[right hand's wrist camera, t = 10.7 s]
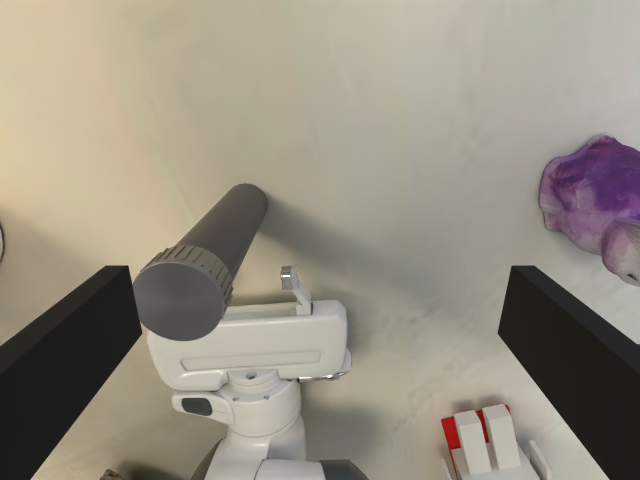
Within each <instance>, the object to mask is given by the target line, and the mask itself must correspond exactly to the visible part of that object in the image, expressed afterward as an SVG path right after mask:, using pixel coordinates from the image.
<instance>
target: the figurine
mask: <svg viewBox="0 0 640 480" xmlns="http://www.w3.org/2000/svg"><path fill="white" fill-rule="evenodd" d="M539 204H540V206H541V208H542V211H543V212H544V216H545V225H546V228H547V229H548V230H551V231H563V232H564V233H565V234H566V235H567V237H568V238H569V239H570V240H571V241H572V243H573V244H574V245H575V246H577V247H578V248H579V249H581V250H584V251H586V252H589V253H592V254H596V255H601V256H602V261H603V264H604V265H605V267H606V268H607V269H608V270H609V271H610V272H612V273H613V274H616V275H618V276H619V277H620V279H622V280H623V281H624V282H626V283H629V284H631V285H635V286H638V287H640V152H639V151H637V150H636V149H634V148H632V147H629V146H626V145H622V144H621V143H619V142H618V141H617V140H616V139H615V138H614V137H613V136H612V135H611V134H609V133H606V132H604V133H600V134H598V135H596V136H595V137H593V138H592V139H591V140H590V141H589V142H588V143H587V144H586V145H585V146H584V147H582V148H581V149H580V150H579V151H578V152H576V153H574V154H572V155H569V156H565V157H557V158H555V159H554V160H552V161H551V162H550V163H549V165H548V166H547V167H546V169H545V171H544V173H543V178H542V183H541V188H540V193H539Z"/></svg>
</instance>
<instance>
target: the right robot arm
mask: <svg viewBox="0 0 640 480" xmlns="http://www.w3.org/2000/svg"><path fill="white" fill-rule="evenodd" d="M141 335H142V329H141V324H140V320H139V315H138V310H137V305H136V300H135V296H134V291H133V286H132V281H131V277H130V272H129V267H128V266H105V267H103V268H102V269H101V270H99V271H98V272H97V273H96V274H94V275H93V276H92V277H90V278H89V279H88V280H86V281H85V282H84V283H83V284H81V285H80V286H79V287H77V288H76V289H75V290H73V291H72V292H71V293H69V294H68V295H67V296H66V297H64V298H63V299H62V300H60V301H59V302H58V303H56V304H55V305H54V306H52V307H51V308H50V309H49V310H47V311H46V312H45V313H43V314H42V315H41V316H39V317H38V318H37V319H35V320H34V321H33V322H32V323H30V324H29V325H28V326H26V327H25V328H24V329H22V330H21V331H20V332H18V333H17V334H16V335H15V336H13V337H12V338H11V339H9V340H8V341H7V342H5V343H4V344H3V345H1V346H0V480H30V479H31V478H32V477H33V475H34V474H35V473H36V472H37V470H38V469H39V468H40V466H41V465H42V464H43V462H44V461H45V460H46V459H47V457H48V456H49V455H50V453H51V452H52V451H53V449H54V448H55V447H56V445H57V444H58V443H59V442H60V440H61V439H62V438H63V436H64V435H65V434H66V432H67V431H68V430H69V429H70V427H71V426H72V425H73V423H74V422H75V421H76V419H77V418H78V417H79V415H80V414H81V413H82V412H83V410H84V409H85V408H86V406H87V405H88V404H89V402H90V401H91V400H92V398H93V397H94V396H95V395H96V393H97V392H98V391H99V389H100V388H101V387H102V385H103V384H104V383H105V382H106V380H107V379H108V378H109V376H110V375H111V374H112V372H113V371H114V370H115V368H116V367H117V366H118V365H119V363H120V362H121V361H122V359H123V358H124V357H125V355H126V354H127V353H128V352H129V350H130V349H131V348H132V346H133V345H134V344H135V342H136V341H137V340H138V338H139V337H140V336H141ZM498 335H499V336H500V337H501V338H502V340H503V341H504V342H505V344H506V345H507V346H508V348H509V349H510V350H511V352H512V353H513V354H514V355H515V357H516V358H517V359H518V361H519V362H520V363H521V365H522V366H523V367H524V368H525V370H526V371H527V372H528V374H529V375H530V376H531V378H532V379H533V380H534V382H535V383H536V384H537V385H538V387H539V388H540V389H541V391H542V392H543V393H544V395H545V396H546V397H547V399H548V400H549V401H550V402H551V404H552V405H553V406H554V408H555V409H556V410H557V412H558V413H559V414H560V415H561V417H562V418H563V419H564V421H565V422H566V423H567V425H568V426H569V427H570V429H571V430H572V431H573V432H574V434H575V435H576V436H577V438H578V439H579V440H580V442H581V443H582V444H583V445H584V447H585V448H586V449H587V451H588V452H589V453H590V455H591V456H592V457H593V459H594V460H595V461H596V462H597V464H598V465H599V466H600V468H601V469H602V470H603V472H604V473H605V474H606V475H607V477H608V478H609V479H610V480H640V344H636V343H635V342H633V341H632V340H631V339H629V338H628V337H627V336H625V335H624V334H623V333H622V332H620V331H619V330H618V329H616V328H615V327H614V326H612V325H611V324H610V323H608V322H607V321H606V320H605V319H603V318H602V317H601V316H599V315H598V314H597V313H595V312H594V311H593V310H591V309H590V308H589V307H588V306H586V305H585V304H584V303H582V302H581V301H580V300H578V299H577V298H576V297H574V296H573V295H572V294H571V293H569V292H568V291H567V290H565V289H564V288H563V287H561V286H560V285H559V284H557V283H556V282H555V281H554V280H552V279H551V278H550V277H548V276H547V275H546V274H544V273H543V272H542V271H541V270H539V269H538V268H537V267H535V266H512V267H511V272H510V277H509V281H508V286H507V291H506V296H505V300H504V305H503V310H502V315H501V320H500V324H499V329H498Z"/></svg>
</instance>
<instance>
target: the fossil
mask: <svg viewBox="0 0 640 480" xmlns="http://www.w3.org/2000/svg"><path fill="white" fill-rule="evenodd" d="M100 480H124V479H123V478H122V477H121V475H120V474H117V473H115V472H114V471H111V470H109V469H107V470H106V472H105V474H104V475H103V476H102V478H100Z"/></svg>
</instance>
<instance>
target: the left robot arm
mask: <svg viewBox="0 0 640 480" xmlns="http://www.w3.org/2000/svg"><path fill="white" fill-rule="evenodd" d="M2 250H3V240H2V234H1V230H0V259H1V256H2ZM281 280H282V289H291V291H292V292H293V293H294V295H295V296H296V297H297V302H291V303H275V304H259V305H244V306H228V308H227V310H226V312H225V314H224V317H223V319H221V320H220V322H219V324H218V325H217V327H216V328H215V329H214V330H213V331H212V332H211V333H209V334H208V335H206V336H204V337H202V338H200V339H197V340H193V341H174V340H169V339H166V338H163V337H161V336H158V335H157V334H155V333H153V332H152V331H150V330H148V332H147V344H148V347H149V350H150V354H151V356H152V359H153V362H154V364H155V367H156V369H157V371H158V374H159V376H160V378H161V379H162V381H163V382H164V383H165V384H166V385H167V386H169V387H170V388H172V389H174V392H173V395H172V399H171V402H172V406H173V408H174V409H175V410H176V411H179V412H182V413H188V414H193V415H198V416H202V417H206V418H210V419H213V420H216V421H219V422H222V423H224V424H226V425H227V427H228V432H227V436H226V438H225V439H221V440H220V441H219V442H218V443H217V444H216V445H215V446H214V447H213V448H212V450H211V451H210V452H209V453H208V455H207V456H206V457H205V458H204V460H203V461H202V462H201V464H200V465H199V466H198V468H197V470H196V471H195V473H194V475H193V477H192V479H191V480H369V479H368V478H367V477H366V476H365V475H364V474H363V472H362V471H361V470H360V469H359V468H358V467H357V466H355V465H354V464H353V463H352V462H351V461H350V460H320V461H319V462H311V461H306V439H305V428H304V422H303V419H302V417H301V415H300V409H301V394H300V385H299V382H313V381H319V380H328V381H331V380H337V379H339V376H342V375H345V374H346V373H348V372H349V371H350V370H351V367H352V354H351V351H350V349H349V348H348V347H347V346H346V344H347V316H346V309H345V307H344V306H343V305H342V304H341V303H340V302H339V301H338V300H322V301H311V294H310V292H309V291H308V290H307V289H306V287H305V286H304V285H303V284H302V283H301V281H300V280H298V272H297V266H286V267H282V270H281Z"/></svg>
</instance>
